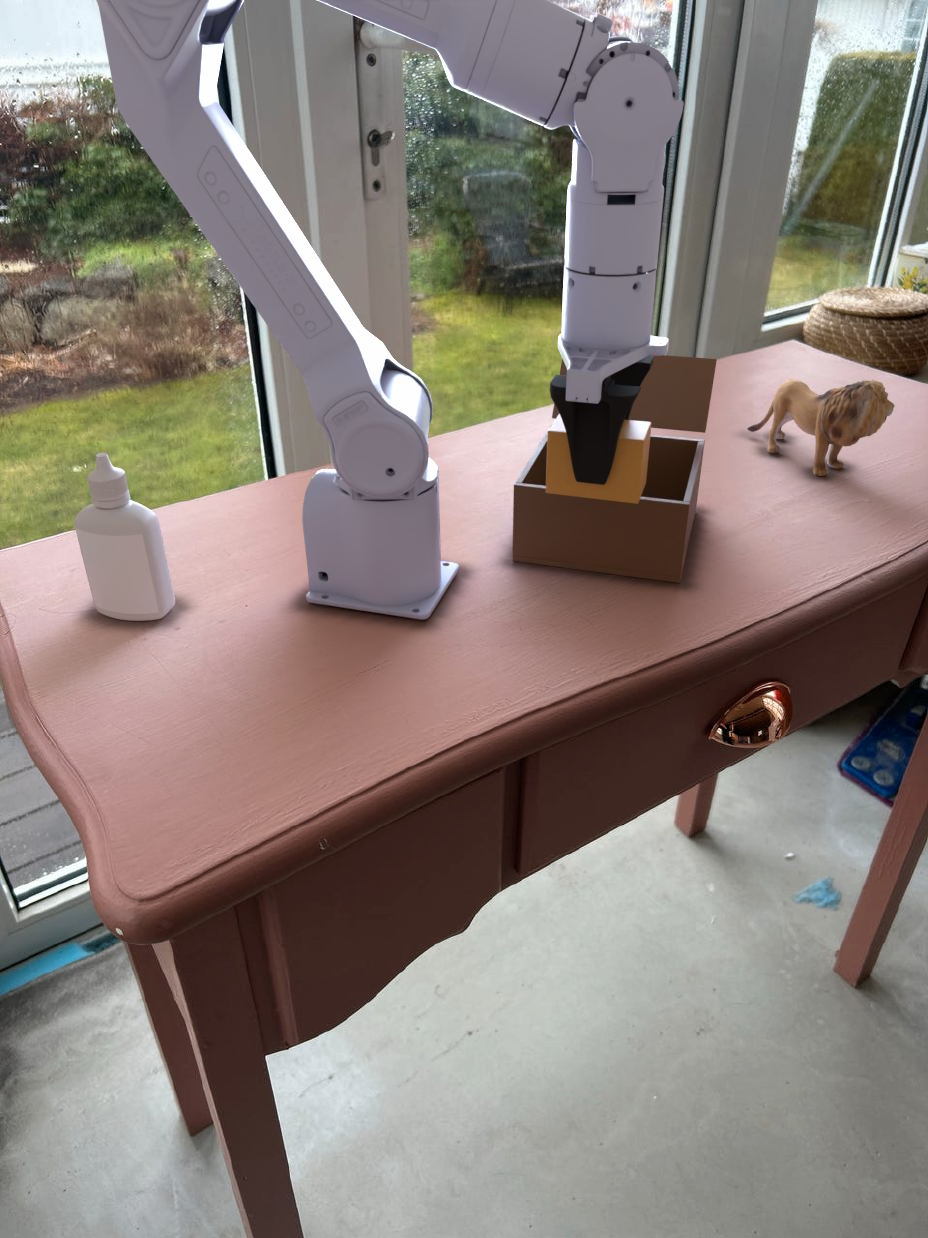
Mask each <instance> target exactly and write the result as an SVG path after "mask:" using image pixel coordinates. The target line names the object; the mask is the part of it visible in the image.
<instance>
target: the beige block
mask: <svg viewBox="0 0 928 1238" xmlns="http://www.w3.org/2000/svg"><path fill="white" fill-rule="evenodd" d="M551 425H552V426H551ZM551 425H550V426H551V427H550V426H549V428H550V429H549V428H548V429H549V430H548V429H547V431H548V438H547V466H546V493H550V494H559V495H567V496H576V497H584V498H593V499H601V500H610V501H618V502H627V503H635V504H638V503H639V500H640V498H641V495H642V492H643V489H644V487H645V484H646V477H647V467H648V456H649V446H650V436H651V435H652V428H651V425H652V423H651V422H645V421H635V420H624V422H623V425H622V428H621V432H620V435H619V439H618V443H617V448H616V452H615V457H614V461H613V465H612V468H611V471H610V474H609V477H608V479H607V481H606V484H604V485H601V484H592V483H583V482H577V481H576V479H575V476H574V472H573V467H572V461H571V455H570V449H569V444H568V438H567V434H566V430H565V427H564V424H563V421H562V418H561V416H560V414H559V415H558V416H557V418H556V419H555V420H554V421H553V422H552V424H551Z"/></svg>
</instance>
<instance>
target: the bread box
mask: <svg viewBox="0 0 928 1238" xmlns="http://www.w3.org/2000/svg"><path fill="white" fill-rule="evenodd" d="M551 426H552V424H551V425H550V426H549V428H548V429H547V430H546V433H545V434H544V435H543V437H542V439H541V441H540V442H539V444H538V446H537V447H536V449H535V450H534V452H533V454H532V455H531V457H530V459H529V460H528V462H527V463H526V465H525V467H524V468H523V469H522V471H521V473H520V474H519V476H518V478H517V479H516V481H515V483H514V484H513V505H512V506H513V507H512V509H513V510H512V559H511V560H512V562H518V563H520V562H521V563H527V564H533V565H540V566H541V565H542V566H549V567H556V568H564V569H572V570H579V571H586V572H595V573H601V574H610V575H617V576H625V577H632V578H639V579H647V580H653V581H662V582H667V583H668V582H669V583H677V584H680V583H681V580H682V574H683V571H684V566H685V561H686V557H687V552H688V547H689V543H690V539H691V535H692V529H693V525H694V521H695V516H696V512H697V506H698V505H697V504H698V497H699V489H700V482H701V473H702V467H703V458H704V453H705V452H704V451H705V443H706V439H700V438H690V437H679V436H678V437H677V436H669V435H659V434H658V435H657V434H651V436H650V446H649V456H648V467H647V477H646V484H645V487H644V489H643V492H642V495H641V498H640V500H639V503H638V504H635V503H627V502H618V501H610V500H601V499H593V498H584V497H576V496H567V495H559V494H550V493H546V466H547V438H548V430H549V429H550V427H551Z"/></svg>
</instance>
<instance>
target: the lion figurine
mask: <svg viewBox="0 0 928 1238" xmlns="http://www.w3.org/2000/svg"><path fill="white" fill-rule="evenodd" d="M888 396H889V393H888V392H886V387H885V386H884V384H883V382H882V381H878V380H875V379H869V380H868V379H862V380H861V381H857V382H854V383H851V384H846V385H845V386H840V387H838V388H836V387H833V388H830V389H828V390H827V391H826V392H824V393H823V394H818V393H816V392H814V391H813V390H811V388H810V387H809V385H808V384H807V383H805V382H803V381H800V380H795V379H788V380H785V381H783V382H782V383H781V384H780V385H779V387H778V388H777V390H776V392H775V394H774V397H773V399H772V402H771V404H770V406H769V408H768V411H767V412H766V414H765V416H764V418H763V419H762V420H761V421H759V422H758V423H755V424H752V425H751V426H749V427H747V428H746V430H747V431H748V432H751V433H754V432H757V431H759V430H761V429H762V428H763V427H764V426H765V425H766V424H767V423H768V422H769V420H770V419H771V417H772V416H773V417H772V424H771V427H770V429H769V431H768V443H767V447H766V450H767V452H768V453H771V454H777V453H780V452H781V447H780V446H779V445H778V443H777V440H782V439H785V437H786V433H785V432H784V431H783V430H782V427H783V426H784V425H785V424H787V423H789V422H791V421H793V422H794V423H795V424H796V426H797V427H798V428H799V429H800V430H801V431H802V432H804V433H806V434H807V435H810V436H814V437H815V446H814V457H813V463H812V464H813V465H812V473H813V475H815V476H817V477H824V476H827V474H828V470H827V469H826V463H827V465H828V466H829V467H830V468H832V469H835V470H839V469H842V468H843V466H844V462H843V461H842V460H839V459H838V455H840V452H841V450H842V448H843V447H852V446H853V445H855V444H857V443H858V442H859V440H860V439H863V438H866V437H871V436H873V435H874V434H876V433H877V432H878V430H881V428H882V426H883V425H884V424H885V423H886V421H887V417H890V416H891V415H892V414H893V411H894V408H896V407H895V404H894V402H892V401H890V399H888ZM829 447H830V448H829ZM826 458H827V459H826Z"/></svg>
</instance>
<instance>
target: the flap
mask: <svg viewBox="0 0 928 1238" xmlns="http://www.w3.org/2000/svg"><path fill="white" fill-rule="evenodd" d="M653 357H654V358H653V364H652V366H651V369H650V370H649V372H648V373H647V375H646V376H645V378H644V380H643V382H642V383H641V385H640V387H641V390H640V392H639V394H638V396H637V398H636V399H635V401H634V403H633V406H632V409H631V413H630V417H629V420H635V421H645V422H651V423H652V425H651V429H661V430H673V431H683V432H691V433H702V434H705V433H706V432H707V425H708V419H709V412H710V406H711V399H712V393H713V386H714V381H715V373H716V367H717V362H718V359H717V358H711V357H709V358H707V357H696V356H682V355H669V354H668V355H667V354H665V355H664V356H653ZM558 375H567V368H566V365H565V363H564V361H563V359H561V362H560V369H559V374H558ZM559 414H560V413H559V411H558V409H557V407H556V406H555V404H554V403H553V408H552V415H551V419H553V420H554V419H556V418H557V416H558V415H559Z"/></svg>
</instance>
